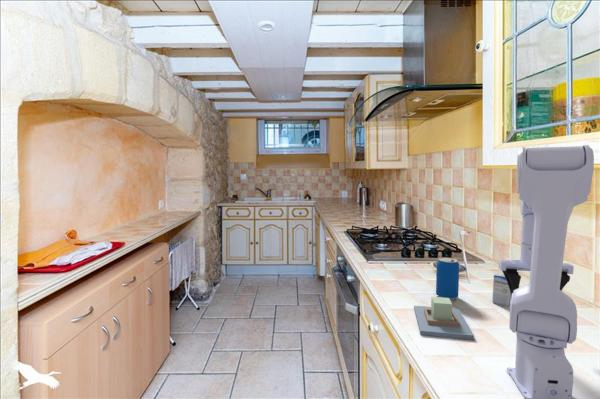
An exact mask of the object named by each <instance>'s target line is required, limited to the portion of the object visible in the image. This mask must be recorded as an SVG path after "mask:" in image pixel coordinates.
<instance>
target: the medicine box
mask: <svg viewBox="0 0 600 399" xmlns="http://www.w3.org/2000/svg"><path fill="white" fill-rule="evenodd" d="M492 283H493V284H492V286H493V288H492V303H493V304H496V305H501V306H505V307H510V301H511V293H510V289H509V285H508V283H507V280H506V278H505V276H504V274H503V272H502V270H500V269H498V270H497V271H496V273H494V274H493V282H492Z"/></svg>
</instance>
